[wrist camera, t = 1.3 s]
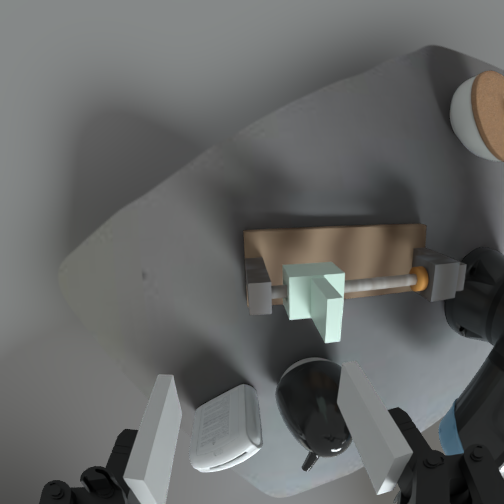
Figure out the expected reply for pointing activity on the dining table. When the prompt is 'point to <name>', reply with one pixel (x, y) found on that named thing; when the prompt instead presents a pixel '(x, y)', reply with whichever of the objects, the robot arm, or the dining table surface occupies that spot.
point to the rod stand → (350, 261)
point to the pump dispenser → (313, 408)
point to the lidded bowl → (480, 115)
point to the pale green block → (316, 296)
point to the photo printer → (226, 430)
